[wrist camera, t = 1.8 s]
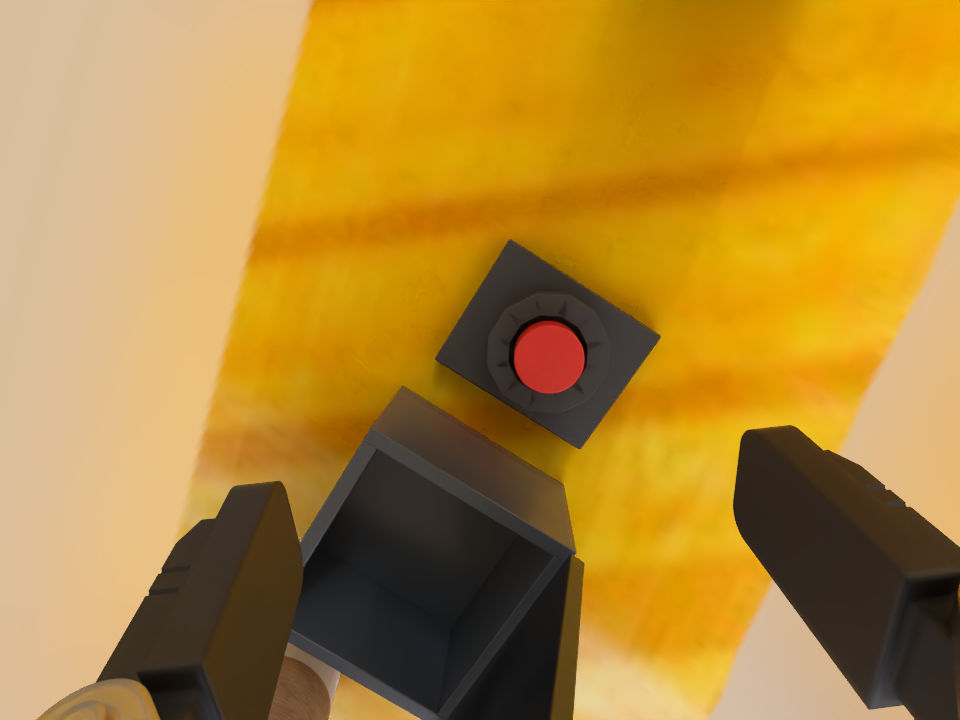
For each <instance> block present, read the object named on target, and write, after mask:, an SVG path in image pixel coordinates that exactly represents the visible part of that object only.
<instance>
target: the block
mask: <svg viewBox="0 0 960 720" xmlns="http://www.w3.org/2000/svg"><path fill="white" fill-rule="evenodd" d="M540 321H556V322H559V323H562V324H564V325H566V326H567V327H569V328H570V329H571V330H572V331H573V332H574V333H575V335H576V336H577V338H578V339H579V341H580V343H581V345H582V347H583V350H584V356H585V362H584V368H583V371H582V373H581V375H580V377H579V379H578V380H577V381H576V382H575V383H574V384H573V385H572V386H571V387H569V388H568V389H566V390H564V391H561V392H558V393H553V394H545V393H540V392H537V391H534V390H532V389H530V388H529V387H527V386H526V385H525V384H524V383H523V382H522V381H521V380H520V378H519V376H518V375H517V372H516V369H515V365H514V349H515V345H516V342H517V339H518V338H519V336H520V335H521V333H522V332H523V331H524V330H525V329H526V328H527V327H529V326H530V325H532V324H534V323H537V322H540ZM660 337H661V336H660V335H659V334H657V333H656V332H654V331H653V330H651V329H650V328H648V327H647V326H645V325H643V324H642V323H640V322H639V321H637V320H636V319H634V318H633V317H631V316H629V315H628V314H626V313H625V312H623V311H622V310H620V309H619V308H617V307H615V306H614V305H612V304H611V303H609V302H608V301H606V300H605V299H603V298H601V297H600V296H598V295H597V294H595V293H594V292H592V291H591V290H589V289H587V288H586V287H584V286H583V285H581V284H580V283H578V282H577V281H575V280H574V279H572V278H570V277H569V276H567V275H566V274H564V273H563V272H561V271H560V270H558V269H556V268H555V267H553V266H552V265H550V264H549V263H547V262H546V261H544V260H542V259H541V258H539V257H538V256H536V255H535V254H533V253H532V252H530V251H528V250H527V249H525V248H524V247H522V246H521V245H519V244H518V243H516V242H514V241H513V240H511V239H510V240H509V241H508V242H507V244H506V246H505V247H504V249H503V250H502V252H501V254H500V255H499V257H498V259H497V260H496V262H495V263H494V265H493V267H492V268H491V270H490V271H489V273H488V275H487V276H486V278H485V279H484V281H483V283H482V284H481V286H480V287H479V289H478V291H477V292H476V294H475V295H474V297H473V299H472V300H471V302H470V303H469V305H468V307H467V308H466V310H465V311H464V313H463V315H462V316H461V318H460V319H459V321H458V323H457V324H456V326H455V327H454V329H453V331H452V332H451V334H450V335H449V337H448V339H447V340H446V342H445V343H444V345H443V347H442V348H441V350H440V351H439V353H438V355H437V356H436V358H435V360H436V361H438V362H440V363H441V364H443V365H444V366H446V367H448V368H449V369H451V370H452V371H454V372H456V373H457V374H459V375H460V376H462V377H464V378H465V379H467V380H469V381H470V382H472V383H473V384H475V385H477V386H478V387H480V388H481V389H483V390H485V391H486V392H488V393H489V394H491V395H493V396H494V397H496V398H497V399H499V400H501V401H502V402H504V403H505V404H507V405H509V406H510V407H512V408H513V409H515V410H517V411H518V412H520V413H521V414H523V415H525V416H526V417H528V418H530V419H531V420H533V421H534V422H536V423H538V424H539V425H541V426H542V427H544V428H546V429H547V430H549V431H550V432H552V433H554V434H555V435H557V436H558V437H560V438H562V439H563V440H565V441H566V442H568V443H570V444H571V445H573V446H574V447H576V448H578V449H581V448H582V446H583V445H584V444H585V442H586V441H587V440H588V438H589V437H590V435H591V434H592V433H593V431H594V430H595V428H596V427H597V426H598V424H599V423H600V421H601V420H602V419H603V417H604V416H605V414H606V413H607V412H608V410H609V409H610V407H611V406H612V405H613V403H614V402H615V400H616V399H617V398H618V396H619V395H620V393H621V392H622V391H623V389H624V388H625V387H626V385H627V384H628V382H629V381H630V380H631V378H632V377H633V375H634V374H635V373H636V371H637V370H638V368H639V367H640V366H641V364H642V363H643V361H644V360H645V359H646V357H647V356H648V354H649V353H650V352H651V350H652V349H653V347H654V346H655V345H656V343H657V342H658V340H659V339H660Z"/></svg>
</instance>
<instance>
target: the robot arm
mask: <svg viewBox="0 0 960 720" xmlns="http://www.w3.org/2000/svg"><path fill="white" fill-rule="evenodd" d="M733 510H734V516H735V521H736V524H737V527H738V530H739V532H740V534H741V536H742V538H743V539H744V541H745V542H746V543H747V545H748V546H749V547H750V549H751V550H752V551H753V553H754V554H755V556H756V557H757V558H758V560H759V561H760V562H761V564H762V565H763V566H764V568H765V569H766V570H767V572H768V573H769V575H770V576H771V577H772V579H773V580H774V581H775V583H776V584H777V585H778V587H779V588H780V589H781V591H782V592H783V594H784V595H785V596H786V598H787V599H788V600H789V602H790V603H791V604H792V605H793V607H794V609H795V610H796V611H797V612H798V614H799V615H800V617H801V618H802V619H803V621H804V622H805V623H806V625H807V626H808V628H809V629H810V630H811V632H812V633H813V634H814V636H815V637H816V638H817V640H818V641H819V642H820V644H821V645H822V647H823V648H824V649H825V651H826V652H827V653H828V655H829V656H830V657H831V659H832V660H833V662H834V663H835V664H836V665H837V667H838V668H839V670H840V671H841V672H842V674H843V675H844V676H845V678H846V679H847V681H848V682H849V683H850V684H851V686H852V687H853V689H854V690H855V691H856V693H857V694H858V696H859V697H860V698H861V700H862V701H863V702H864V704H865V705H866V706H867V708H868V709H869V710H870V709H877V708H885V707H892V706H900V705H904V706H905V707H906V708H907V709H908V711H909V712H910V713H911V715H912V716H913V717H914V718H915V719H914V720H960V547H959V546H958V545H956V544H955V543H954V542H953V541H951V540H950V539H949V538H948V537H947V536H945V535H944V534H943V533H942V532H941V531H939V530H938V529H937V528H935V526H933V525H932V524H931V523H930V522H928V521H927V520H926V519H925V518H924V517H922V516H921V515H920V514H919V513H917V512H916V511H915V510H914V509H913V508H911V507H906V505H905V502H904V501H903V500H902V499H900V498H899V497H898V496H897V495H896V494H894V493H893V492H892V491H891V490H886V489H885V485H883V484H882V483H881V482H880V481H879V480H877V479H876V478H875V477H874V476H873V475H871V474H870V473H869V472H868V471H866V470H865V469H864V468H863V467H862V466H860V465H858V464H856V463H854V462H852V461H850V460H848V459H846V458H844V457H842V456H840V455H838V454H835V453H833V452H831V451H829V450H824V451H823V450H822V449H821V448H820V447H819V446H818V445H817V444H815V443H814V442H813V441H812V440H811V439H810V438H808V437H807V436H806V435H805V434H804V433H803V432H801V431H800V430H799V429H798V428H796V427H794V426H791V425H788V426H779V427H770V428H761V429H752V430H747V431H745V433H744V434H743V436H742V438H741V443H740V450H739V459H738V467H737V475H736V484H735V492H734V500H733ZM302 584H303V558H302V552H301V548H300V544H299V540H298V536H297V532H296V528H295V524H294V520H293V516H292V512H291V508H290V504H289V500H288V496H287V493H286V489H285V487H284V485H283V484H282V482H280V481H274V482H265V483H256V484H247V485H238V486H234V487H233V488H232V489H231V490H230V492H229V494H228V495H227V497H226V499H225V501H224V503H223V505H222V507H221V509H220V511H219V513H218V515H217V517H216V518H215V519H206V520H201V521H200V522H199V523H198V524H197V525H196V526H194V527H193V528H192V529H191V530H190V531H189V532H188V533H187V534H186V535H185V536H184V537H182V538H181V539H180V540H179V541H178V542H177V543H176V544H175V546H174V548H173V550H172V551H171V553H170V555H169V556H168V558H167V560H166V562H165V563H164V565H163V567H162V573H161V574H158V576H157V577H156V579H155V581H154V583H153V584H152V586H151V588H150V589H149V596H146V597H145V598H144V600H143V602H142V603H141V605H140V607H139V608H138V610H137V612H136V614H135V615H134V617H133V619H132V621H131V622H130V624H129V626H128V628H127V629H126V631H125V633H124V634H123V636H122V638H121V640H120V641H119V643H118V645H117V647H116V648H115V650H114V652H113V653H112V655H111V657H110V659H109V660H108V662H107V664H106V666H105V667H104V669H103V671H102V672H101V675H100V676H99V678H98V679H97V681H96V683H94V684H91V685H89V686H86V687H84V688H81V689H80V690H78V691H75V692H74V693H72V694H70V695H69V696H67V697H65V698H63V699H62V700H60V701H59V702H57V703H56V704H55V705H53V706H52V707H51V708H49V709H48V710H47V711H45V712H44V713H43V714H42V715H41V716H40V717H39V718H38V719H37V720H268V717H269V713H270V709H271V705H272V701H273V697H274V694H275V690H276V686H277V682H278V678H279V674H280V671H281V667H282V663H283V659H284V655H285V651H286V648H287V644H288V640H289V636H290V632H291V628H292V625H293V621H294V617H295V613H296V609H297V605H298V602H299V598H300V594H301V590H302Z"/></svg>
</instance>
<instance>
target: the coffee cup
mask: <svg viewBox="0 0 960 720" xmlns="http://www.w3.org/2000/svg"><path fill="white" fill-rule="evenodd" d="M340 675H341V673H340V672H339V671H337V670H335V669H334V668H332V667H330V666H328V665H327V664H325V663H323V662H321V661H320V660H318V659H316V658H315V657H313V656H311V655H309V654H308V653H306V652H304V651H302V650H301V649H299V648H297V647H295V646H294V645H292V644H290V643H289V642H288V644H287V648H286V651H285V655H284V659H283V663H282V667H281V671H280V674H279V678H278V682H277V686H276V690H275V694H274V697H273V701H272V705H271V709H270V713H269V717H268V720H328V717H329V713H330V708H331V705H332V702H333V698H334V695H335V692H336V689H337V685H338V682H339V678H340Z"/></svg>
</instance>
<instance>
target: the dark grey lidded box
mask: <svg viewBox="0 0 960 720" xmlns="http://www.w3.org/2000/svg"><path fill="white" fill-rule="evenodd" d="M300 548H301V552H302V558H303V584H302V590H301V594H300V598H299V602H298V605H297V609H296V613H295V617H294V621H293V625H292V628H291V632H290V636H289V640H288V642H289V643H290V644H292V645H294V646H295V647H297V648H299V649H301V650H302V651H304V652H306V653H308V654H309V655H311V656H313V657H315V658H316V659H318V660H320V661H321V662H323V663H325V664H327V665H328V666H330V667H332V668H334V669H335V670H337V671H339V672H340V673H342V674H344V675H346V676H347V677H349V678H351V679H353V680H354V681H356V682H358V683H360V684H361V685H363V686H365V687H366V688H368V689H370V690H372V691H373V692H375V693H377V694H379V695H380V696H382V697H384V698H385V699H387V700H389V701H391V702H392V703H394V704H396V705H398V706H399V707H401V708H403V709H405V710H406V711H408V712H410V713H411V714H413V715H415V716H417V717H418V718H420V719H422V720H447V718H448V717H449V716H450V714H451V713H452V712H453V710H454V709H455V708H456V706H457V705H458V704H459V702H460V701H461V700H462V698H463V697H464V696H465V694H466V693H467V692H468V690H469V689H470V688H471V686H472V685H473V684H474V682H475V681H476V680H477V678H478V677H479V676H480V674H481V673H482V672H483V670H484V669H485V668H486V666H487V665H488V664H489V662H490V661H491V660H492V658H493V657H494V655H495V654H496V653H497V651H498V650H499V649H500V647H501V646H502V645H503V643H504V642H505V641H506V639H507V638H508V637H509V635H510V634H511V633H512V631H513V630H514V629H515V627H516V626H517V625H518V623H519V622H520V621H521V619H522V618H523V617H524V615H525V614H526V613H527V611H528V610H529V609H530V607H531V606H532V605H533V603H534V602H535V601H536V599H537V598H538V597H539V595H540V594H541V593H542V591H543V590H544V589H545V587H546V586H547V585H548V583H549V582H550V581H551V579H552V578H553V577H554V575H555V574H556V573H557V571H558V570H559V569H560V567H561V566H562V565H563V563H564V562H565V561H566V559H567V558H568V557H569V555H570V554H572V555H575V554H576V548H575V542H574V537H573V532H572V526H571V521H570V516H569V511H568V505H567V500H566V495H565V489H564V485H563V484H561V483H559V482H558V481H556V480H555V479H553V478H551V477H550V476H548V475H547V474H545V473H543V472H542V471H540V470H538V469H537V468H535V467H534V466H532V465H530V464H529V463H527V462H525V461H524V460H522V459H521V458H519V457H517V456H516V455H514V454H513V453H511V452H509V451H508V450H506V449H504V448H503V447H501V446H500V445H498V444H496V443H495V442H493V441H491V440H490V439H488V438H487V437H485V436H483V435H482V434H480V433H479V432H477V431H475V430H474V429H472V428H470V427H469V426H467V425H466V424H464V423H462V422H461V421H459V420H457V419H456V418H454V417H453V416H451V415H449V414H448V413H446V412H444V411H443V410H441V409H440V408H438V407H436V406H435V405H433V404H432V403H430V402H428V401H427V400H425V399H423V398H422V397H420V396H419V395H417V394H415V393H414V392H412V391H410V390H409V389H407V388H406V387H404V386H402V387H401V388H400V390H399V391H398V392H397V394H396V395H395V396H394V398H393V399H392V400H391V402H390V403H389V404H388V406H387V407H386V408H385V410H384V411H383V412H382V414H381V415H380V416H379V417H378V419H377V420H376V421H375V423H374V424H373V425H372V427H371V428H370V430H369V431H368V433H367V435H366V436H365V438H364V440H363V441H362V443H361V444H360V446H359V448H358V449H357V451H356V453H355V454H354V456H353V457H352V459H351V461H350V462H349V464H348V466H347V467H346V469H345V470H344V472H343V474H342V475H341V477H340V479H339V480H338V482H337V483H336V485H335V487H334V488H333V490H332V492H331V493H330V495H329V496H328V498H327V500H326V501H325V503H324V505H323V506H322V508H321V509H320V511H319V513H318V514H317V516H316V518H315V519H314V521H313V522H312V524H311V526H310V527H309V529H308V531H307V532H306V534H305V535H304V537H303V539H302V540H301V542H300Z"/></svg>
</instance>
